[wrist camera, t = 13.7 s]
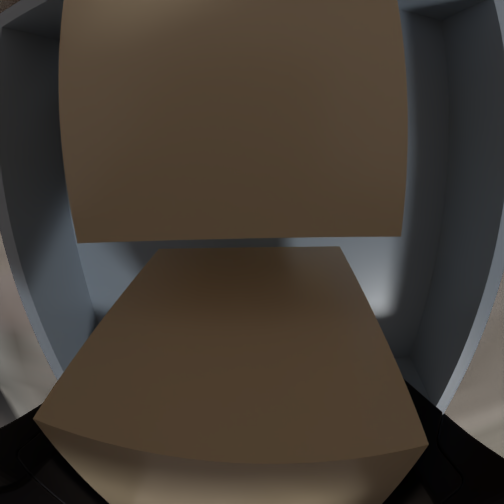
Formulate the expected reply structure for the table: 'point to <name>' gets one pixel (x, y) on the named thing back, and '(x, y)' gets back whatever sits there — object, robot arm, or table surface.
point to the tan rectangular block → (233, 118)
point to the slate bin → (354, 248)
